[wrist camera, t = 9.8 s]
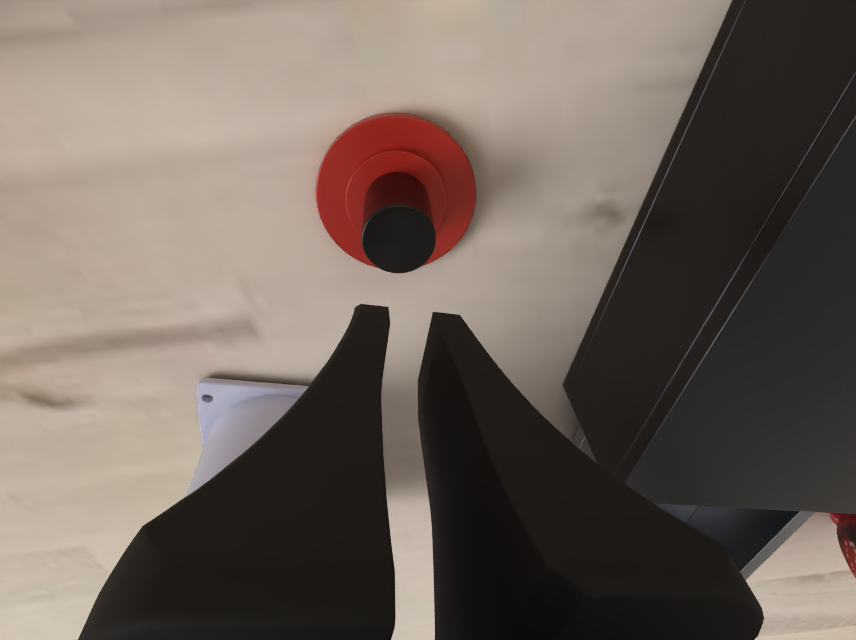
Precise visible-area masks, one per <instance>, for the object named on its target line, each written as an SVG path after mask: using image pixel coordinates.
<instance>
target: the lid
mask: <svg viewBox="0 0 856 640" xmlns="http://www.w3.org/2000/svg"><path fill="white" fill-rule="evenodd" d="M316 201H317V207H318V211H319V215H320V218H321V220H322V222H323V225H324V227H325V229H326V230H327V232H328V233H329V235H330V236H331V238H332V239H333V240H334V241H335V243H336V244H337V245H338V246H339V247H340V248H341V249H342V250H344V251H345V252H346V253H348V254H349V255H350V256H352V257H353V258H355V259H357V260H358V261H360V262H363V263H365V264H367V265H370V266H374V267H377V268H380V269H382V270H384V271H387V272H392V273H406V272H410V271H413V270H415V269H417V268H419V267H421V266H423V265H426V264H428V263H431V262H433V261H435V260H436V259H438V258H440V257H442V256H443V255H444V254H446V253H447V252H448V251H449V250H451V249H452V248H453V247H454V246H455V245H456V244H457V242H458V241H459V240H460V239H461V238H462V236H463V234H464V233H465V231H466V230H467V228H468V226H469V223H470V221H471V219H472V215H473V212H474V207H475V202H476V187H475V179H474V175H473V171H472V169H471V166H470V163H469V161H468V159H467V157H466V155H465V153H464V151H463V150H462V148H461V147H460V146H459V144H458V143H457V142H456V140H455V139H454V138H453V137H452V136H451V135H450V134H449V133H448V132H446V131H445V130H444V129H442V128H441V127H440V126H438V125H436V124H434V123H433V122H431V121H429V120H426V119H424V118H421V117H418V116H414V115H410V114H402V113H386V114H380V115H375V116H372V117H369V118H366V119H363V120H361V121H359V122H357V123H355V124H354V125H352V126H351V127H349V128H348V129H346V130H345V131H344V132H343V133H342V134H341V135H339V136H338V137H337V139H336V140H335V141H334V142H333V143H332V145H331V146H330V148H329V149H328V151H327V152H326V154H325V156H324V159H323V161H322V163H321V166H320V169H319V173H318V177H317V183H316Z"/></svg>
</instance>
